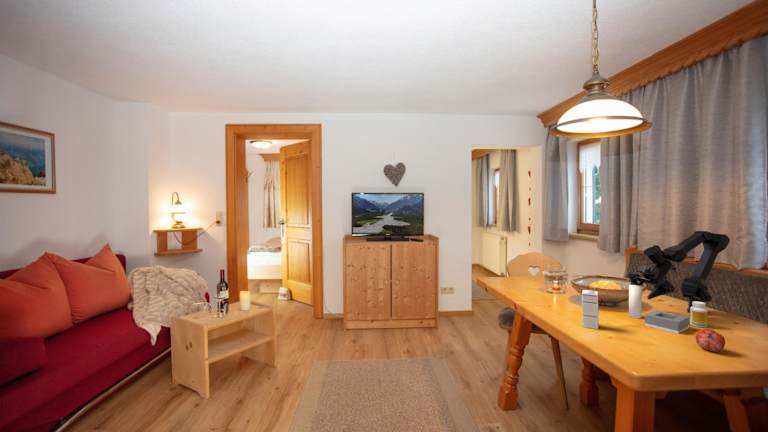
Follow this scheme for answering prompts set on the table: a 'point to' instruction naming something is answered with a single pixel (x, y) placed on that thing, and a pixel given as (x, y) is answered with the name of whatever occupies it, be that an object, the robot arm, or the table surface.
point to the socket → (667, 321)
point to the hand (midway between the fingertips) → (638, 295)
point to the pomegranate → (710, 340)
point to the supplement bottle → (698, 314)
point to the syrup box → (590, 309)
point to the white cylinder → (635, 301)
